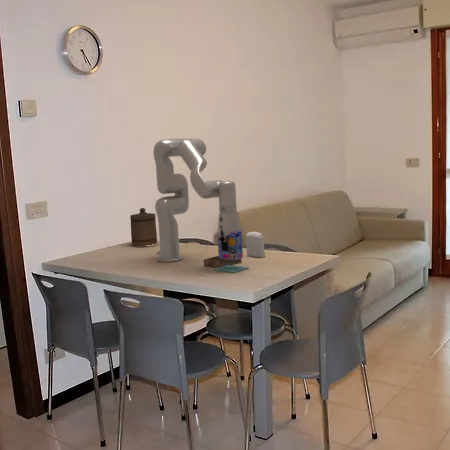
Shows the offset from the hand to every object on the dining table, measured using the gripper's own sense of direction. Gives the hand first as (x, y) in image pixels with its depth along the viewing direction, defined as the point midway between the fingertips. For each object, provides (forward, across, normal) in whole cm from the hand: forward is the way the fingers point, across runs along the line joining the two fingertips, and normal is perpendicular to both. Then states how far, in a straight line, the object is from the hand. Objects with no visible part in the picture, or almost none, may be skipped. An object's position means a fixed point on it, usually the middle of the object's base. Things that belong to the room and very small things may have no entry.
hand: (230, 249), depth 247 cm
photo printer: (+10, +29, +9) cm, 32 cm away
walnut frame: (+9, +7, +11) cm, 16 cm away
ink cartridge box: (+4, 0, 0) cm, 4 cm away
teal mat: (+9, 0, 0) cm, 9 cm away
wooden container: (+10, +25, +90) cm, 94 cm away
